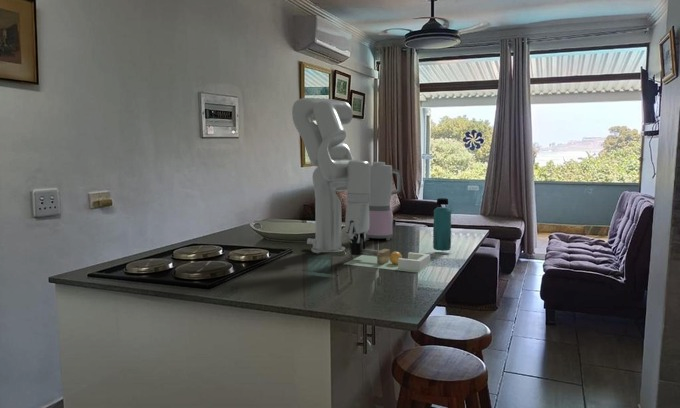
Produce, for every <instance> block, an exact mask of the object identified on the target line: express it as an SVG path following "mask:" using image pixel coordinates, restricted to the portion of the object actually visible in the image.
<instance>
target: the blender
mask: <svg viewBox="0 0 680 408" xmlns="http://www.w3.org/2000/svg"><path fill="white" fill-rule="evenodd" d="M393 174H395V175H396V177H397V181H396V182H397V183H396V189H393ZM401 191H402V172H401V171H400V170H399V169H395V168H393V166H392V165H390V164H386V162H384V161H373V162H372V164H370V203H369V215H370V225H369V230H368V232H367V233H366V241H369V240H370V238H371V239H385V241H386V242H389V241H391V238H392V237H393V227H395V226H396V219H394V218H393V217H394V215H393V214H394V213H393V211H392V210H391V205H390V204H391V199H392V195H397V194H400V193H401ZM388 240H389V241H388Z"/></svg>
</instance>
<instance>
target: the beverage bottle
mask: <svg viewBox="0 0 680 408" xmlns="http://www.w3.org/2000/svg"><path fill="white" fill-rule="evenodd" d="M436 205H441V206H442V205H443V206H442V207H441V206H440V207H439V206H437V207H436V208H435V209H434V210H433V228H432V229H433V231H432V235H433V236H432V248H433V250H435V251H442V252H443V251H445V252H446V251H450V250H451V247H452V210H451V209H450V208H449V207H444V205H449V199H448V198H444V197H439V198H437V199H436Z"/></svg>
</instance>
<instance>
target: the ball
mask: <svg viewBox="0 0 680 408" xmlns="http://www.w3.org/2000/svg"><path fill="white" fill-rule="evenodd" d="M399 258H403V255H402V254H401V252H399V251H392V252H390V261H391V262H392V263H393V264H398V259H399Z"/></svg>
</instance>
